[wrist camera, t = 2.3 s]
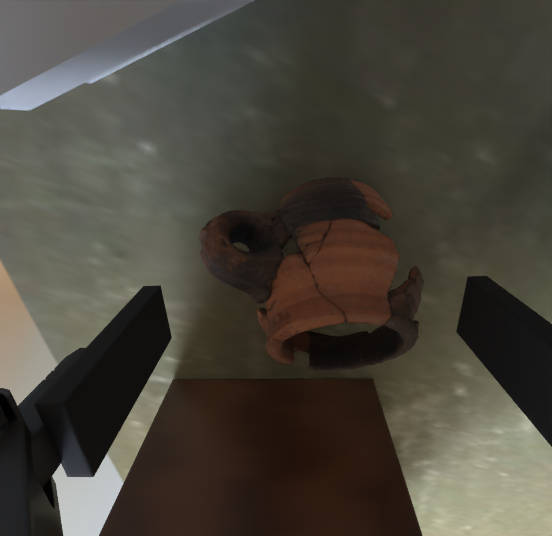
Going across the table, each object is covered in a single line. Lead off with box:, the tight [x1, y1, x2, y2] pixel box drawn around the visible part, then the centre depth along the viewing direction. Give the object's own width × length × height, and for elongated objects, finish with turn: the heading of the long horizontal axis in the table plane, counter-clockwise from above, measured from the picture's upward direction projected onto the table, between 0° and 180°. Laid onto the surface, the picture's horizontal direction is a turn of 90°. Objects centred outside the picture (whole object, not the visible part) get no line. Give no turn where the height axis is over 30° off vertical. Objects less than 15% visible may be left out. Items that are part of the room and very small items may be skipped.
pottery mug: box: [199, 178, 424, 370], centre depth 18 cm, size 12×10×8 cm
